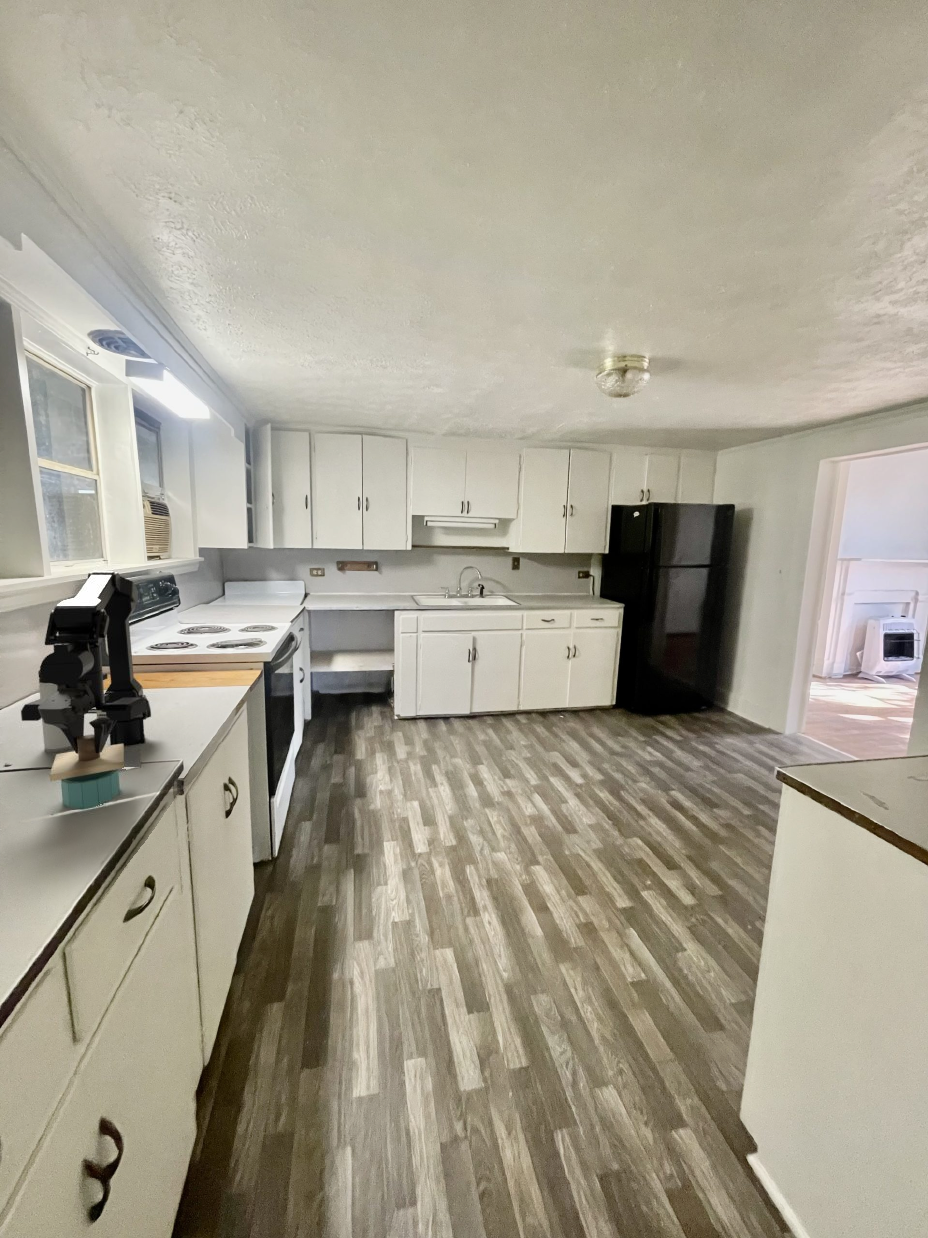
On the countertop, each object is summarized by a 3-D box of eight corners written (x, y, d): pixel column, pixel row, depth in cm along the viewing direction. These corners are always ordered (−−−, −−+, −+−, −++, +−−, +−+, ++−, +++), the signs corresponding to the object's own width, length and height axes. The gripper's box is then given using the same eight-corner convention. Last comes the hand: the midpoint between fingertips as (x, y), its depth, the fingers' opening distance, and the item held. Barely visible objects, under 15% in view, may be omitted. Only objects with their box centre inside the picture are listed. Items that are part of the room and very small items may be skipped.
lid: (123, 749, 99) (122, 724, 98) (123, 767, 91) (122, 741, 90) (56, 760, 93) (54, 734, 93) (50, 781, 85) (47, 752, 84)
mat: (139, 751, 115) (139, 749, 115) (141, 769, 105) (141, 767, 105) (75, 762, 108) (74, 759, 108) (70, 782, 99) (70, 780, 98)
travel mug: (86, 744, 119) (80, 663, 116) (62, 754, 112) (55, 669, 110) (63, 742, 119) (56, 662, 117) (37, 753, 113) (30, 668, 110)
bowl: (119, 784, 99) (118, 760, 98) (119, 801, 92) (117, 776, 91) (65, 794, 94) (63, 770, 93) (61, 814, 87) (59, 787, 86)
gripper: (-11, 682, 81) (-2, 772, 83) (108, 683, 83) (114, 771, 84) (41, 667, 92) (48, 747, 94) (145, 668, 94) (150, 746, 95)
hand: (89, 752), depth 92 cm, fingers closed on lid, 3 cm apart
